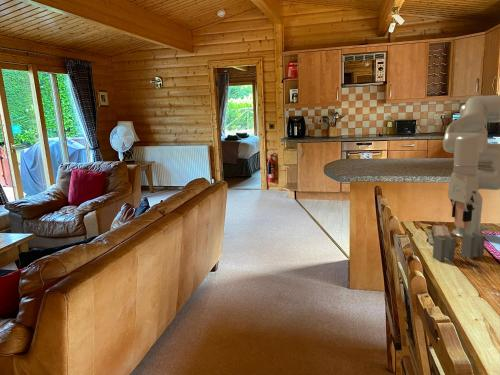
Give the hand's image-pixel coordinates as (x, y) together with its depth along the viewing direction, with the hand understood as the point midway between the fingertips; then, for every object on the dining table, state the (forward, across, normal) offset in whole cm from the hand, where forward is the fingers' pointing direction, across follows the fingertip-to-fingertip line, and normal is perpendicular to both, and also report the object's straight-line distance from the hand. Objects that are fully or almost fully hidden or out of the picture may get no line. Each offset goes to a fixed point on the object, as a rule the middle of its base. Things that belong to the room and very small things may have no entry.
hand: (461, 218), depth 140 cm
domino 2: (+19, -8, +2) cm, 21 cm away
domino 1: (+19, -8, -2) cm, 21 cm away
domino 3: (+3, 0, 0) cm, 3 cm away
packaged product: (+20, -28, +13) cm, 37 cm away
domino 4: (+19, -8, +10) cm, 23 cm away
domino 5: (+19, -8, +14) cm, 25 cm away
